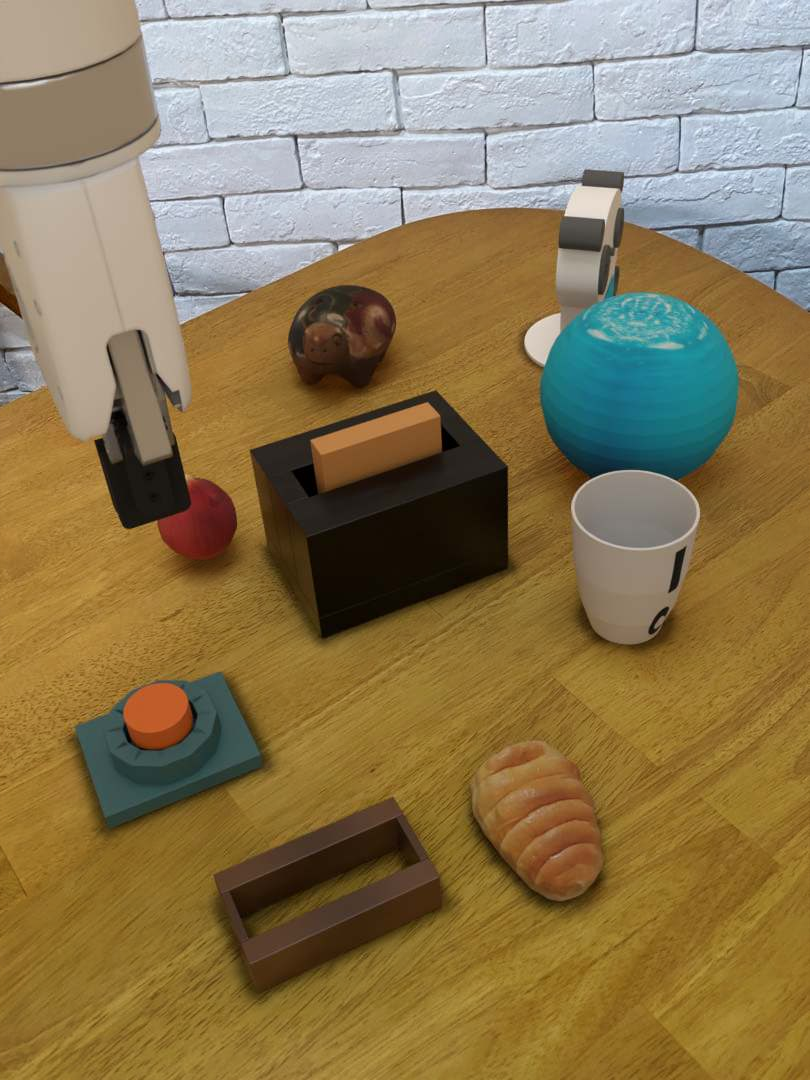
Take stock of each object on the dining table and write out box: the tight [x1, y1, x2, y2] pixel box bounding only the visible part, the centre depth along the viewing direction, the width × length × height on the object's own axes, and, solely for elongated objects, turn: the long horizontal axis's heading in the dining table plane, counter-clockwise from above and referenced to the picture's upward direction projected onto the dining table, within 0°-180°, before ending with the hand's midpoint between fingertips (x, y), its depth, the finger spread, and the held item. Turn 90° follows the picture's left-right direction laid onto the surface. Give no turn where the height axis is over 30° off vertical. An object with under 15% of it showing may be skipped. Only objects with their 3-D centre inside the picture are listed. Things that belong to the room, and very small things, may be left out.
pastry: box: [469, 739, 604, 902], centre depth 65 cm, size 9×7×4 cm
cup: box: [570, 470, 701, 645], centre depth 76 cm, size 8×8×10 cm
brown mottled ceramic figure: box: [287, 284, 397, 389], centre depth 103 cm, size 10×15×8 cm, turn 172°
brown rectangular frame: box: [213, 796, 443, 993], centre depth 63 cm, size 11×6×3 cm, turn 116°
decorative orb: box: [539, 291, 740, 482], centre depth 87 cm, size 15×15×15 cm
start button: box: [123, 683, 193, 750], centre depth 70 cm, size 4×4×2 cm
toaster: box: [249, 389, 509, 640], centre depth 82 cm, size 15×11×10 cm
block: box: [74, 671, 264, 830], centre depth 72 cm, size 10×8×3 cm
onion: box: [156, 473, 238, 561], centre depth 84 cm, size 6×6×8 cm
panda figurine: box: [524, 168, 625, 369], centre depth 101 cm, size 12×11×15 cm
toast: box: [310, 402, 442, 494], centre depth 81 cm, size 9×2×10 cm, turn 116°
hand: (153, 509), depth 51 cm, fingers closed
